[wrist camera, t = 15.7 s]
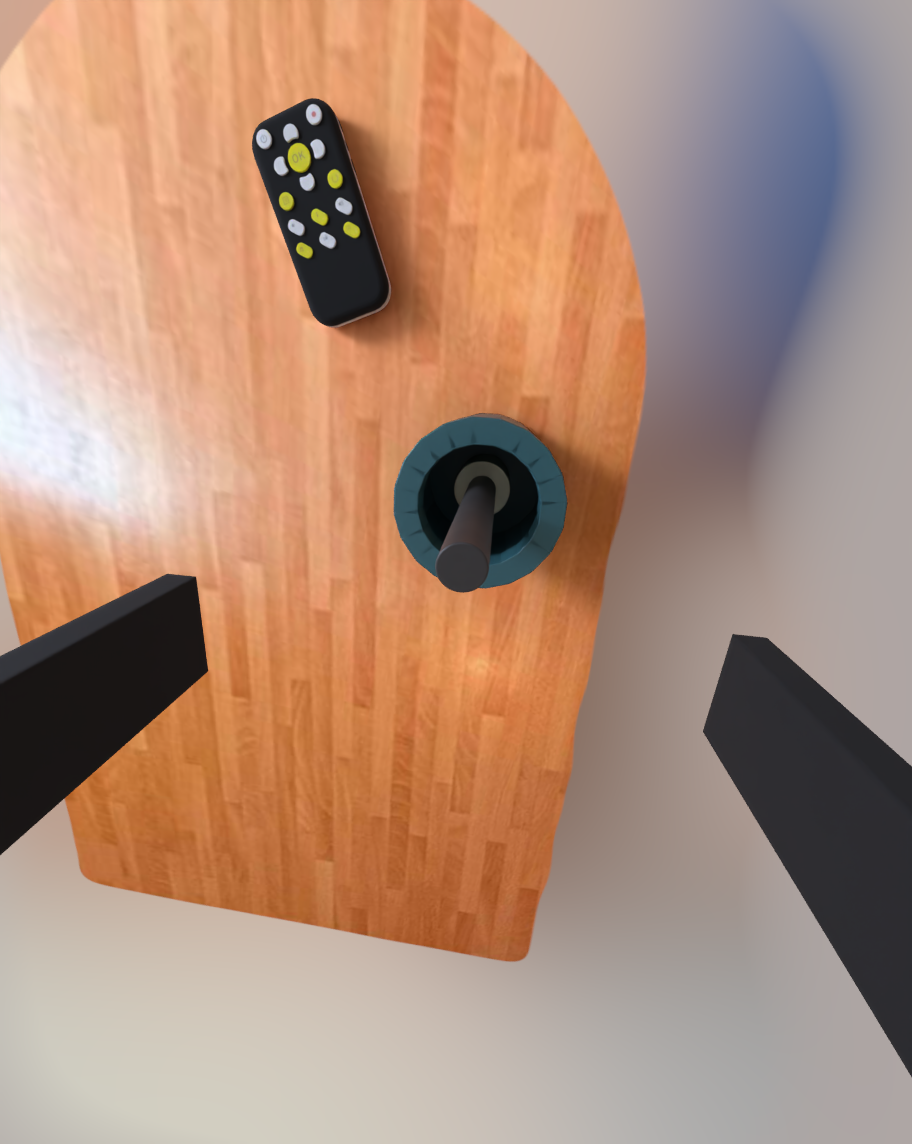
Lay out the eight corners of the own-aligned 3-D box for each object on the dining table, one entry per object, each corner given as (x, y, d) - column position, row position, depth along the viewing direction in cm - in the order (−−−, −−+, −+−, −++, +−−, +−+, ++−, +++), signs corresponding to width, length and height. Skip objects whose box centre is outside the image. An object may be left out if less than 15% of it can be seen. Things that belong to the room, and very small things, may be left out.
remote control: (325, 334, 36) (315, 330, 34) (254, 141, 32) (239, 125, 31) (398, 305, 35) (392, 300, 33) (334, 102, 31) (323, 83, 29)
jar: (556, 418, 37) (579, 424, 25) (539, 542, 40) (553, 596, 29) (428, 408, 37) (395, 410, 26) (422, 531, 41) (391, 579, 30)
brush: (511, 456, 37) (522, 520, 16) (506, 505, 38) (509, 622, 18) (461, 451, 37) (410, 510, 17) (458, 501, 39) (406, 611, 18)
